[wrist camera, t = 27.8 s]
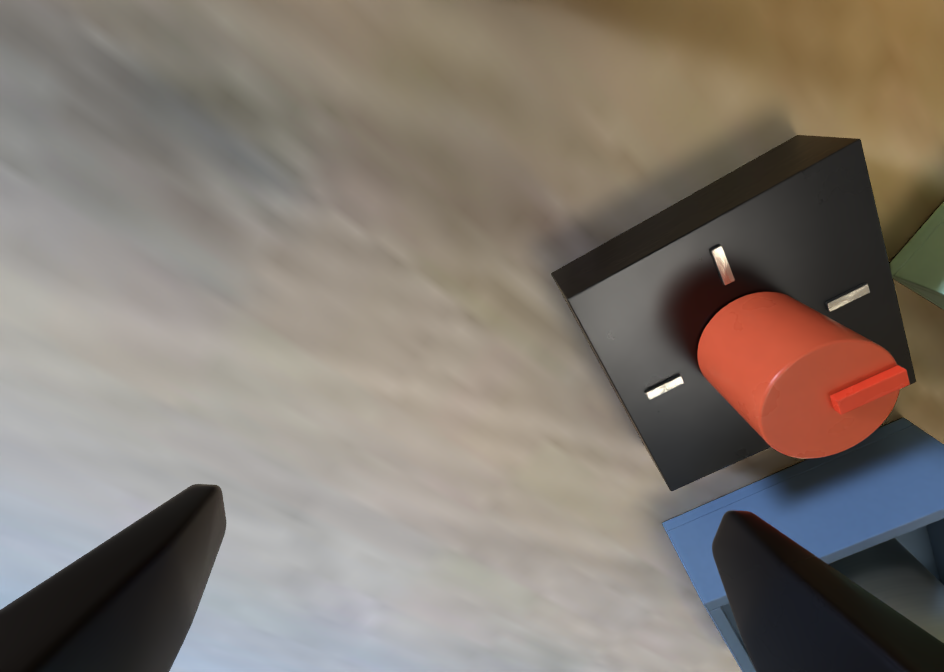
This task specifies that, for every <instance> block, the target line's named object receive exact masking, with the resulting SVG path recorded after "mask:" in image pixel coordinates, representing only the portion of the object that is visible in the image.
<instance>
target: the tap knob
mask: <svg viewBox="0 0 944 672" xmlns="http://www.w3.org/2000/svg"><path fill="white" fill-rule="evenodd" d="M697 356H698V364H699V367H700V370H701V372H702V374H703V376H704V377H705V378H706V379H707V381H708V382H709V383H710V384H711V385H712V386H713V387H714V388H715V389H716V390H717V391H718V392H719V393H720V394H721V395H722V396H723V397H724V398H725V399H726V401H727V402H728V403H729V404H730V405H731V406H732V407H733V408H734V409H735V410H736V411H737V412H738V413H739V414H740V415H741V416H742V417H743V418H744V419H745V420H746V421H747V423H748V424H749V425H750V426H751V427H752V428H753V429H754V430H755V431H756V432H757V433H758V434H759V435H760V436H761V437H762V438H763V439H764V440H765V441H766V442H767V444H769V445H770V446H771V447H772V448H773V449H775V450H776V451H778V452H780V453H782V454H785V455H788V456H791V457H795V458H805V459H812V458H821V457H826V456H830V455H834V454H837V453H840V452H842V451H845V450H847V449H849V448H851V447H853V446H855V445H856V444H858V443H860V442H861V441H863V440H864V439H866V438H867V437H868V436H870V435H871V434H872V433H873V432H874V431H875V430H876V429H877V428H878V427H879V426H880V425H881V424H882V423H883V422H884V421H885V419H886V418H887V417H888V416H889V414H890V412H891V411H892V409H893V407H894V405H895V403H896V401H897V398H898V395H899V391H900V389H901V388H903V387H905V386H908V385H909V384H910V382H909V378H908V374H907V370H906V369H904V368H903V367H901V366H899V365H897V363H896V361H895V359H894V358H893V356H892V355H891V354H890V353H889V352H888V351H887V350H886V349H885V348H883V347H882V346H880V345H878V344H876V343H875V342H873V341H871V340H869V339H867V338H865V337H863V336H862V335H860V334H858V333H856V332H854V331H852V330H851V329H849V328H847V327H845V326H843V325H841V324H840V323H838V322H836V321H834V320H832V319H830V318H829V317H827V316H825V315H823V314H821V313H819V312H817V311H816V310H814V309H812V308H810V307H808V306H806V305H805V304H803V303H801V302H799V301H797V300H795V299H794V298H792V297H790V296H788V295H785V294H782V293H777V292H758V293H753V294H749V295H746V296H743V297H740V298H738V299H736V300H734V301H732V302H731V303H729V304H727V305H726V306H725V307H723V308H722V309H721V310H720V311H719V312H717V313H716V314H715V315H714V317H713V318H712V319H711V320H710V321H709V323H708V324H707V326H706V327H705V329H704V331H703V333H702V335H701V338H700V341H699V344H698V351H697Z"/></svg>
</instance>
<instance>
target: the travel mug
mask: <svg viewBox="0 0 944 672" xmlns="http://www.w3.org/2000/svg"><path fill="white" fill-rule="evenodd" d="M828 565H830V566H831V567H833V568H834V569H836V570H837V571H839V572H840V573H842V574H843V575H844V576H846V577H847V578H849V579H850V580H852V581H853V582H855V583H856V584H858V585H859V586H861V587H862V588H864V589H865V590H866V591H868V592H869V593H871V594H872V595H874V596H875V597H877V598H878V599H880V600H881V601H883V602H884V603H886V604H887V605H888V606H890V607H891V608H893V609H894V610H896V611H897V612H899V613H900V614H902V615H903V616H905V617H906V618H907V619H909V620H910V621H912V622H913V623H915V624H916V625H918V626H919V627H921V628H922V629H924V630H925V631H927V632H928V633H929V634H931V635H932V636H934V637H935V638H937V639H938V640H940V641H941V642H943V643H944V585H943V584H942V583H941V582H940V581H939V580H938V579H937V578H936V577H935V576H934V575H933V574H932V573H931V572H929V571H928V570H927V569H926V568H925V567H924V566H923V565H922V564H921V563H920V562H919V561H918V560H917V559H916V558H915V557H914V556H913V555H912V554H911V553H910V552H909V551H908V550H907V549H906V548H905V547H903V546H902V545H901V544H900V543H899V542H898V541H897V540H896V539H895V538H893V539H890V540H888V541H885V542H883V543H880V544H878V545H875V546H872V547H870V548H867V549H865V550H862V551H860V552H857V553H855V554H852V555H850V556H847V557H845V558H842V559H840V560H837V561H834V562H832V563H829V564H828Z"/></svg>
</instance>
